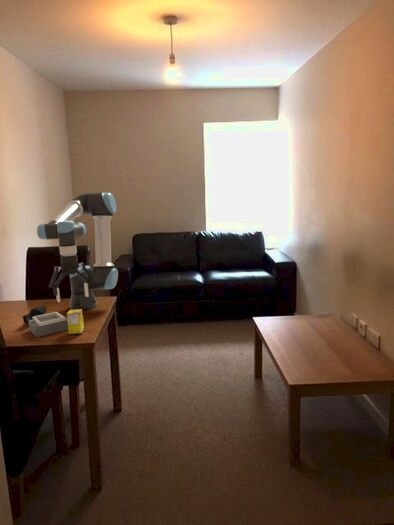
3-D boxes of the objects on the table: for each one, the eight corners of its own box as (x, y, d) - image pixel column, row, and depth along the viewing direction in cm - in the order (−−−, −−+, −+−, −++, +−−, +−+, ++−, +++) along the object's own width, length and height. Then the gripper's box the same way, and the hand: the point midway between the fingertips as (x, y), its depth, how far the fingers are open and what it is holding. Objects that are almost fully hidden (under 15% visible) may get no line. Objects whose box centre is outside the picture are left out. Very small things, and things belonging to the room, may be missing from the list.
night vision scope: (44, 320, 231) (56, 309, 229) (27, 332, 214) (39, 320, 212) (34, 309, 231) (45, 298, 228) (16, 321, 214) (28, 309, 211)
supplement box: (84, 330, 206) (82, 308, 204) (81, 334, 200) (79, 312, 198) (72, 330, 206) (69, 309, 204) (68, 335, 200) (66, 313, 198)
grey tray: (61, 323, 218) (60, 310, 217) (69, 329, 208) (68, 316, 207) (29, 330, 209) (28, 317, 208) (36, 337, 199) (34, 324, 198)
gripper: (91, 250, 206) (95, 292, 210) (38, 257, 192) (43, 302, 196) (97, 252, 200) (101, 295, 204) (43, 259, 186) (48, 306, 190)
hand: (73, 299), depth 200 cm, fingers open, 13 cm apart
